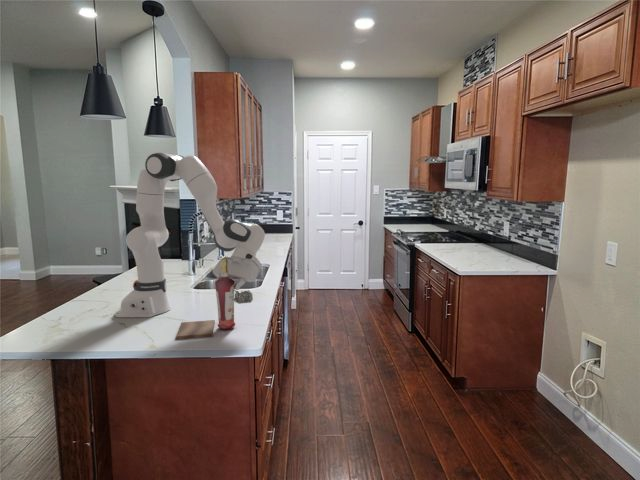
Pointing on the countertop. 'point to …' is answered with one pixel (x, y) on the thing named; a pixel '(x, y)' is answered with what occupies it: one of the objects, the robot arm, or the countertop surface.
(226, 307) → the liquor
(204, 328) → the serving board
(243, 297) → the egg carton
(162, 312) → the robot arm
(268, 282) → the countertop surface
